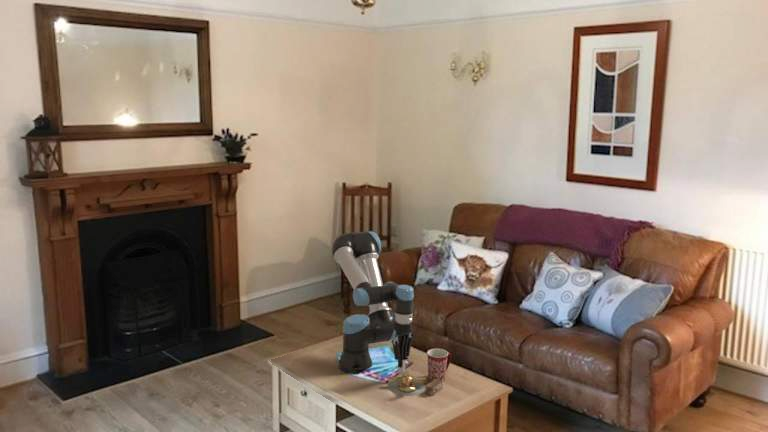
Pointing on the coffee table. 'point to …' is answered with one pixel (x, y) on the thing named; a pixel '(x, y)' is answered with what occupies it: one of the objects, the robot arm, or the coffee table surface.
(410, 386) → the cam capstan
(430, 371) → the mug
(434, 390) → the brown angular block
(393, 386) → the stand plate
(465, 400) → the coffee table surface
